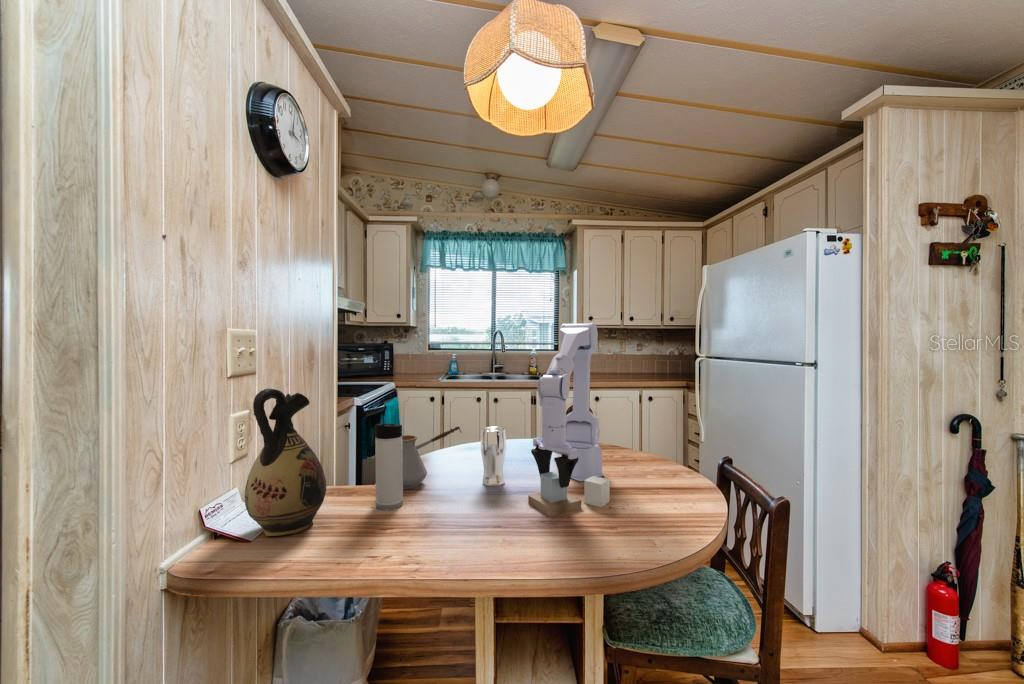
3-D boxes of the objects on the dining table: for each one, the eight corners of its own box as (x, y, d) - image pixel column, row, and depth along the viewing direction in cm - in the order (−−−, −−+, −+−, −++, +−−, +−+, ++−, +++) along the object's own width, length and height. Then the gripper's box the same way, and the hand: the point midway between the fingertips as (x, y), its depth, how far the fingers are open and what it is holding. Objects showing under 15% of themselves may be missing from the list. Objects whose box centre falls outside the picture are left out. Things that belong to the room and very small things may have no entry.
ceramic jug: (291, 508, 102) (290, 382, 102) (342, 518, 96) (340, 384, 96) (219, 540, 87) (217, 391, 86) (274, 554, 81) (271, 394, 80)
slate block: (555, 493, 106) (555, 470, 106) (567, 499, 102) (567, 475, 102) (540, 496, 103) (540, 474, 103) (552, 502, 100) (552, 479, 100)
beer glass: (505, 487, 116) (505, 431, 116) (479, 487, 116) (479, 431, 116) (506, 478, 123) (506, 426, 123) (482, 478, 123) (481, 426, 123)
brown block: (558, 498, 109) (558, 488, 109) (581, 510, 101) (581, 500, 101) (528, 505, 105) (528, 495, 105) (549, 519, 97) (549, 507, 97)
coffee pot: (384, 494, 111) (383, 436, 111) (383, 480, 122) (383, 427, 122) (465, 485, 118) (465, 430, 117) (458, 472, 129) (458, 422, 128)
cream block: (592, 497, 108) (592, 475, 108) (609, 501, 105) (609, 479, 105) (584, 503, 104) (584, 480, 104) (601, 507, 102) (601, 484, 102)
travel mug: (369, 508, 102) (368, 423, 102) (389, 498, 108) (388, 419, 108) (389, 512, 99) (388, 426, 99) (408, 502, 105) (407, 421, 105)
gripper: (522, 422, 107) (523, 476, 107) (559, 433, 94) (560, 494, 95) (545, 419, 110) (546, 471, 111) (584, 429, 98) (584, 488, 98)
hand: (554, 482), depth 103 cm, fingers open, 7 cm apart
